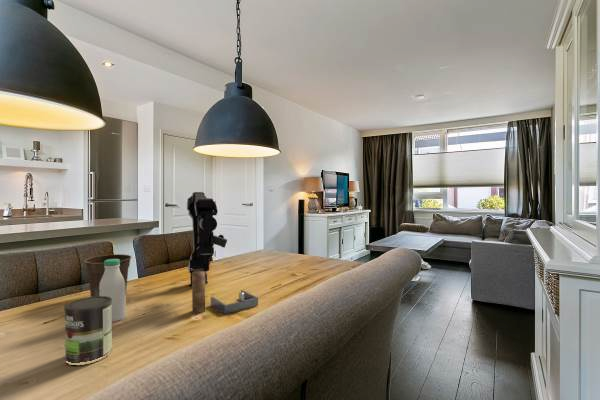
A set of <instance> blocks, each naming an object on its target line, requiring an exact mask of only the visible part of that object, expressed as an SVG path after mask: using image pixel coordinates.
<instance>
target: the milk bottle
mask: <svg viewBox="0 0 600 400" xmlns="http://www.w3.org/2000/svg"><path fill="white" fill-rule="evenodd" d="M119 266H120V259H108V260H105V261H104V267H105V271H104V274H103V277H102V279H101V281H100V284H99V296H106V297H110V298H112V323H114V322H115V323H116V322H119V321H121V320H123V319H124V318H126V315H127V314H126V313H127V307H126V304H127V302H126V301H127V300H126V297H127V291H126V292H125V280H124V278H123V276H122V274H121V272H120V269H119Z"/></svg>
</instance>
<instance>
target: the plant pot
mask: <svg viewBox="0 0 600 400" xmlns="http://www.w3.org/2000/svg"><path fill="white" fill-rule="evenodd" d="M108 259H120V266H119V269H120V272H121V274H122V276H123V278H124V280H125V292H126V293H127V286H128V275H129V268H130V266H131V265H130V264H131V259H132V255H129V254H117V253H116V254H106V255H98V256H92V257H91V256H90V257H88V258H86V259H84V263H85V267H86V272H87V275H88V284H89V291H90V297H94V296H99V284H100V281H101V279H102V277H103V274H104V271H105V267H104V261H105V260H108Z"/></svg>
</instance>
